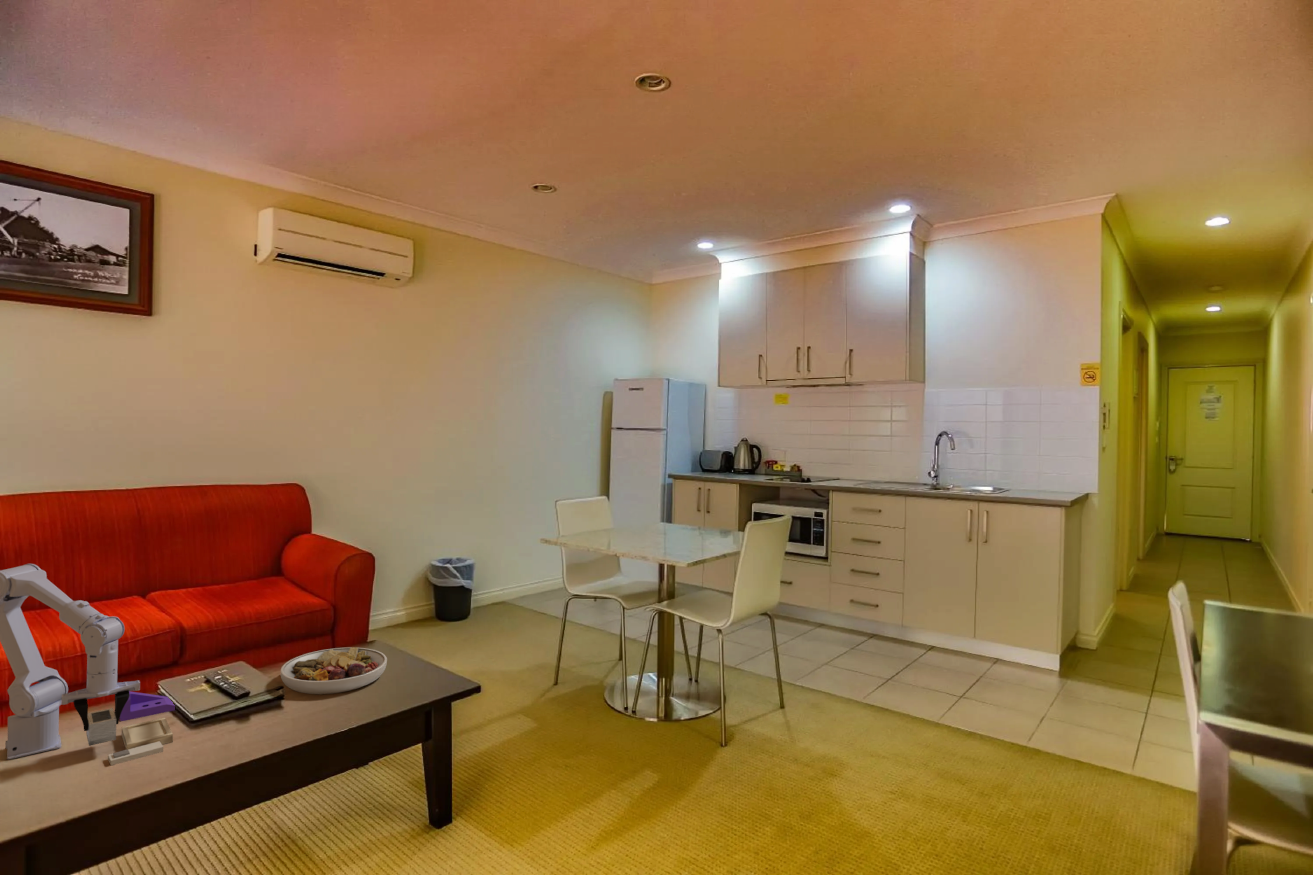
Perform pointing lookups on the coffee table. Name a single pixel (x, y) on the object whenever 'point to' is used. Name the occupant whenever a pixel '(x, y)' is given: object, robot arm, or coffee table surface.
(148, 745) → the block
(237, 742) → the coffee table surface
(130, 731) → the beige shallow tray
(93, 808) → the coffee table surface
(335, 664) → the bowl
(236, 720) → the coffee table surface
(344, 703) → the coffee table surface
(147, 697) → the bracket
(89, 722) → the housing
